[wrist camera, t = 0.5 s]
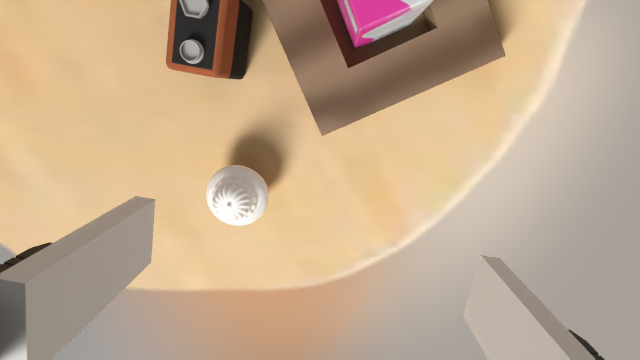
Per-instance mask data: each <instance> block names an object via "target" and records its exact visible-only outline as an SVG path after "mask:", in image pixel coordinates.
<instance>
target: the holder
mask: <svg viewBox="0 0 640 360" xmlns="http://www.w3.org/2000/svg"><path fill="white" fill-rule="evenodd" d="M262 1H263V3H264V6H265V8H266V10H267V12H268V15H269V17H270V19H271V21H272V24H273V26H274V28H275V31H276V33H277V35H278V37H279V40H280V42H281V44H282V46H283V49H284V51H285V53H286V55H287V58H288V60H289V62H290V65H291V67H292V69H293V71H294V74H295V76H296V78H297V80H298V83H299V85H300V87H301V89H302V92H303V94H304V96H305V98H306V101H307V103H308V105H309V108H310V110H311V112H312V114H313V117H314V119H315V121H316V123H317V126H318V128H319V130H320V132H321V135H322V136H323V135H326V134H328V133H330V132H332V131H335V130H337V129H339V128H342V127H344V126H346V125H348V124H351V123H353V122H355V121H357V120H360V119H362V118H364V117H367V116H369V115H371V114H373V113H376V112H378V111H380V110H383V109H385V108H387V107H389V106H392V105H394V104H396V103H399V102H401V101H403V100H405V99H408V98H410V97H412V96H415V95H417V94H419V93H421V92H424V91H426V90H428V89H431V88H433V87H435V86H437V85H440V84H442V83H444V82H447V81H449V80H451V79H453V78H456V77H458V76H460V75H462V74H465V73H467V72H469V71H472V70H474V69H476V68H478V67H481V66H483V65H485V64H488V63H490V62H492V61H494V60H497V59H499V58H501V57H504V56H506V55H505V52H504V49H503V46H502V43H501V40H500V37H499V34H498V31H497V28H496V24H495V21H494V18H493V15H492V12H491V9H490V6H489V3H488V0H433V1H432V2H431V3H430V4H429V5H428V6H427V8H426V9H425V10H424V11H423V12H422V13H423V15H424V18H425V21H426V24H427V26H428V29H429V32H427V33H425V34H423V35H420V36H418V37H416V38H414V39H412V40H409V41H407V42H405V43H403V44H401V45H399V46H396V47H394V48H392V49H390V50H388V51H385V52H383V53H381V54H379V55H377V56H375V57H372V58H370V59H368V60H366V61H364V62H361V63H359V64H357V65H355V66H353V67H351V68H348V67H347V64H346V62H345V60H344V57H343V55H342V52H341V50H340V47H339V45H338V42H337V40H336V38H335V35H334V33H333V30H332V28H331V25H330V23H329V21H328V18H327V16H326V13H325V11H324V8H323V6H322V4H321V1H320V0H262Z"/></svg>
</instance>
